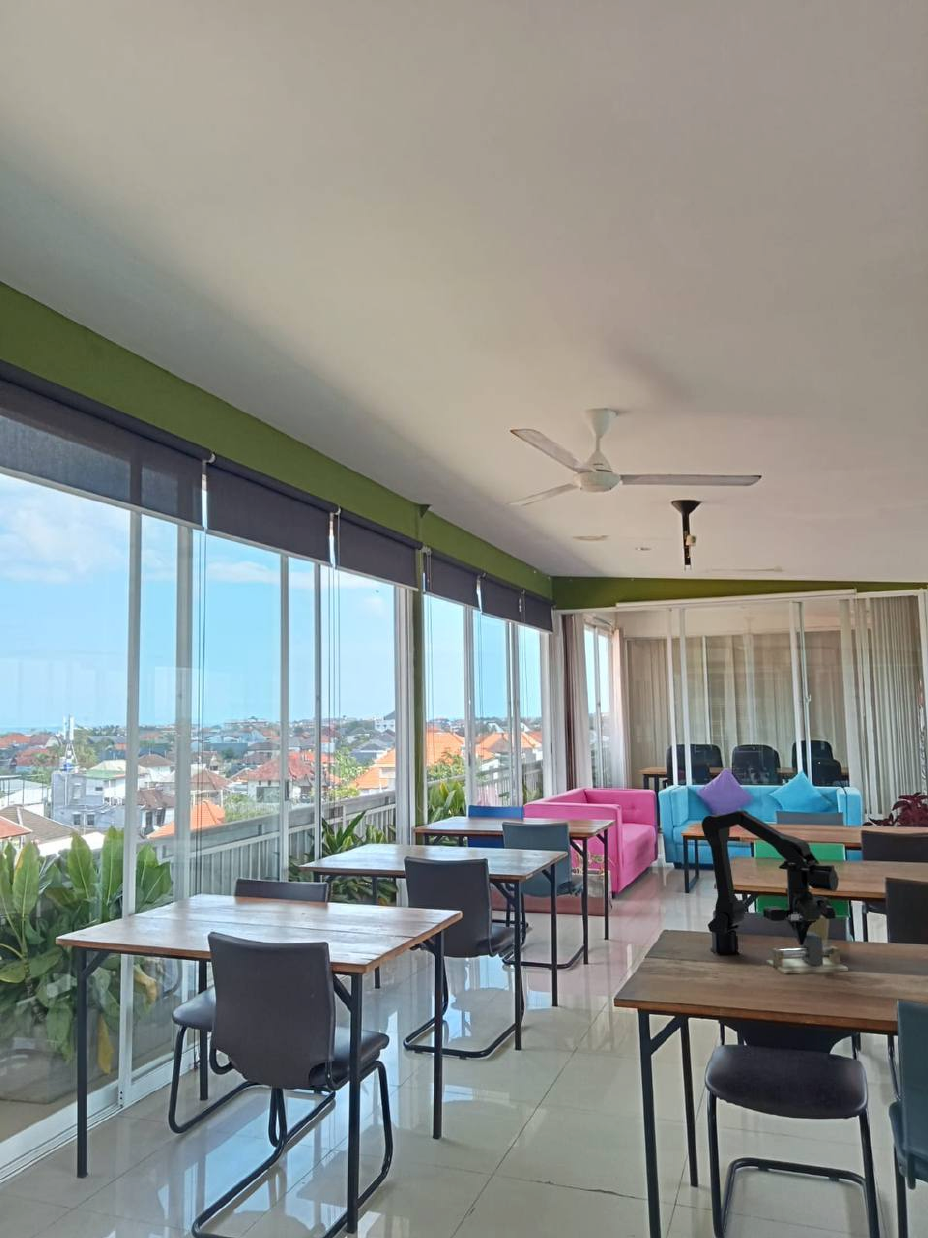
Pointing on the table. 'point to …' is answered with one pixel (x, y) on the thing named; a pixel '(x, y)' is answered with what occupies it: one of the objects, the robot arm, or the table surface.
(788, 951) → the rod
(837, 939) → the table surface
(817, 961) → the collar
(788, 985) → the table surface
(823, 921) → the coffee cup
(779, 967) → the stand
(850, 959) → the table surface
